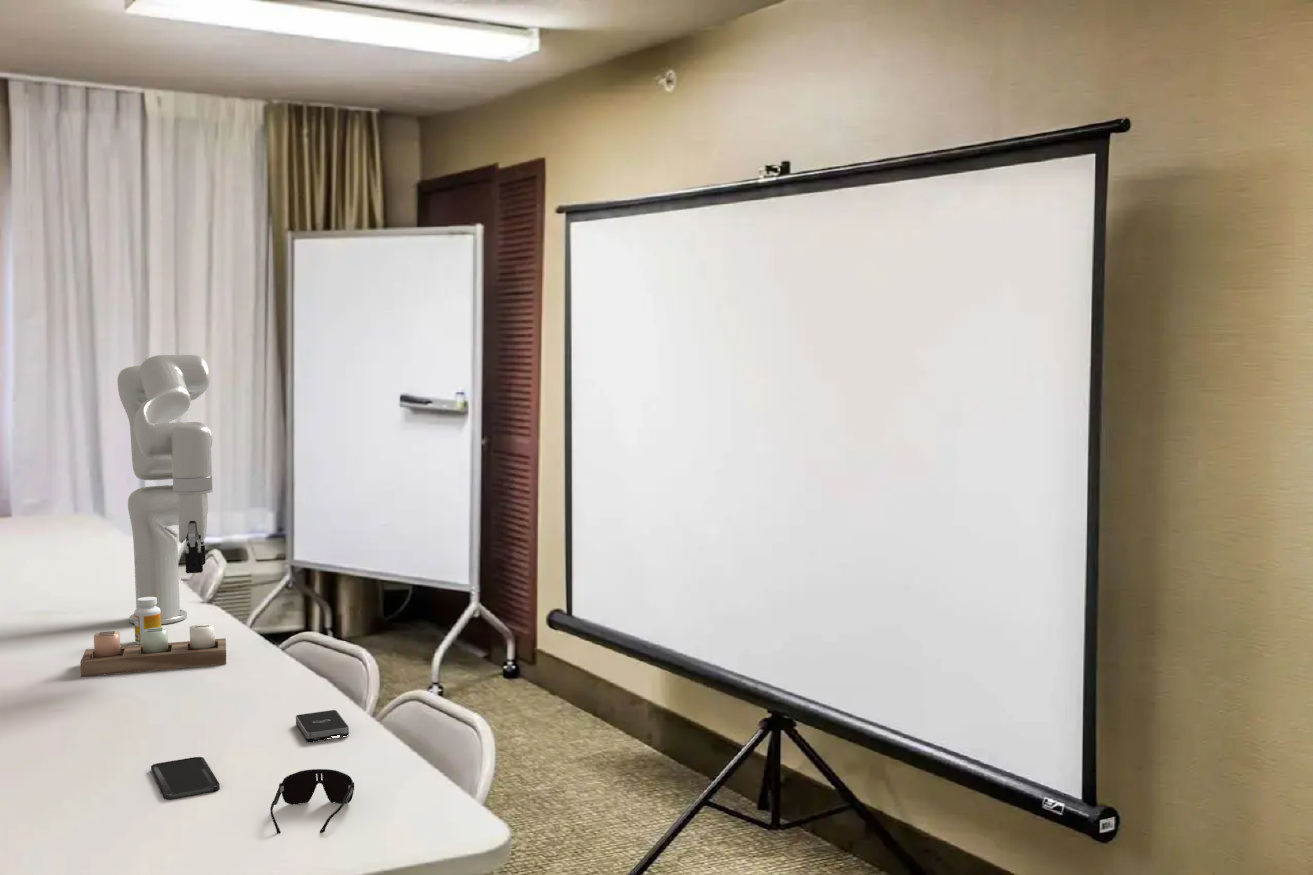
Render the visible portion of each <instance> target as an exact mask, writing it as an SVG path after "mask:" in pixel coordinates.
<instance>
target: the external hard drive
mask: <svg viewBox="0 0 1313 875" xmlns="http://www.w3.org/2000/svg"><path fill="white" fill-rule="evenodd" d="M295 724H296V726H297V728H298V729H299V731H300V732H301V735H302V736H303V737H304V739H305V740H306V742H307V743H309V742H310V743H314V742H313V741H317V742H319V741H318V740H324V739H327V738H332V737H331V736H337V735H340V737H343V736H347V735H348V736H349V734H350V730H349V725H348V724H347V722H346V720H344V718H343V717H342V716H341V715H340V713H339V712H338V710H337V709H336V710H335V709H331V710H322V711H314V712H308V713H303V714H302V713H301V714H300V713H299V714H296V715H295ZM324 741H325V740H324Z"/></svg>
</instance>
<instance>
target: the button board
mask: <svg viewBox="0 0 1313 875" xmlns="http://www.w3.org/2000/svg"><path fill="white" fill-rule="evenodd" d="M120 651H121V653H119V654H117V655H113V656H106V657H99V656H95V654H94V648H90V649H89V648H87V649H85V650H84V653H83V655H82V657H81V660H80V663H79V664H80V677H93V676H104V674H106V675H115V674H116V675H117V674H127V673H128V674H129V673H140V672H150V671H153V672H154V671H162V670H163V671H164V670H173V669H183V668H184V669H185V668H197V667H198V668H199V667H205V666H206V667H210V666H219V665H226V664H227V639H226V637H224V638H215V646H213V647H209V648H203V649H194V648H191V647H190V640H187V641H174V642H168V649H167V650H165V651H162V652H154V653H148V652H143V645H139V644H137V645H128V646H127V645H125V646H120Z"/></svg>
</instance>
